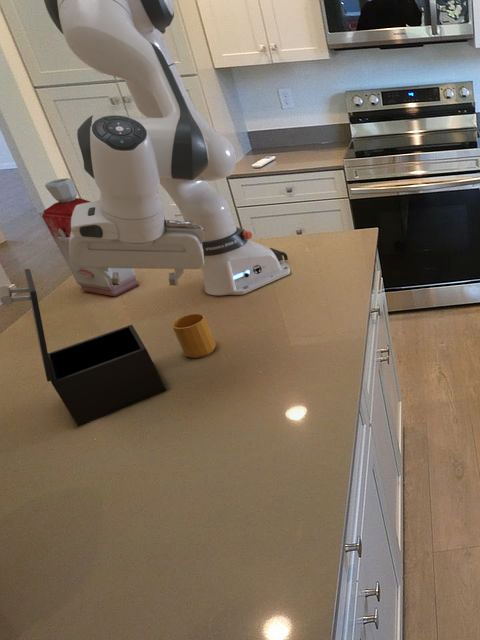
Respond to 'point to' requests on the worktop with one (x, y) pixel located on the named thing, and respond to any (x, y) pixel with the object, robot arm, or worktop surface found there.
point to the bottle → (60, 229)
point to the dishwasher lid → (6, 298)
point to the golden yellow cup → (194, 335)
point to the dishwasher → (104, 374)
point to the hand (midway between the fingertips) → (145, 283)
